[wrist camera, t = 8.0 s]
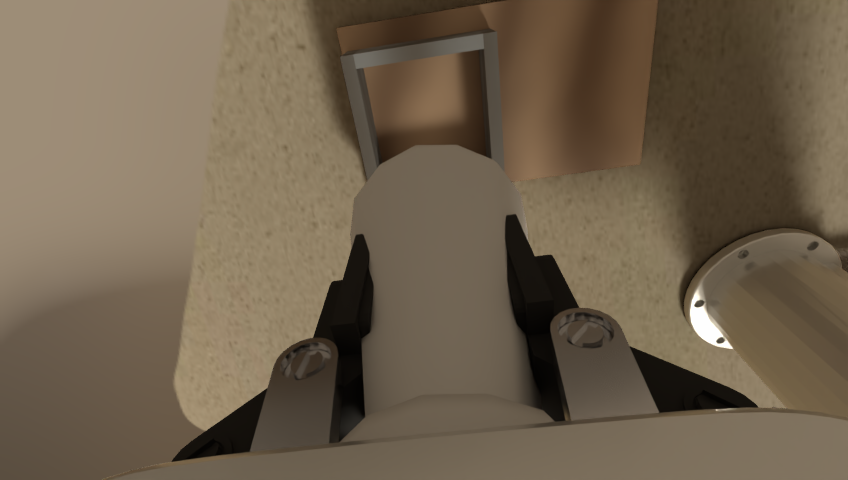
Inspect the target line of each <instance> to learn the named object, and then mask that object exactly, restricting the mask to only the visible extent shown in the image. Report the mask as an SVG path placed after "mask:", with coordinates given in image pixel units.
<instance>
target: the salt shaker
mask: <svg viewBox="0 0 848 480" xmlns="http://www.w3.org/2000/svg"><path fill="white" fill-rule="evenodd" d="M512 214H516V215H517V217H518V220H519V222H520V224H521V226H522V229H523V231H524V233H525V236H526V238H527V240H528V231H527V224H526V219H525V214H524V208H523V203H522V197H521V193H520V192H519V191H518V189H517V188H516V187H515V185H514V184H513V183H512V182H511V180H510V179H509V178H508V176H507V175H506V174H505V172H504V171H503V170H502V169H501V167H500V166H499V165H498V163H497V162H495V161H494V160H493V159H490V158H488V157H485V156H483V155H480V154H478V153H476V152H473V151H471V150H468V149H466V148H463V147H461V146H458V145H415V146H413V147H411V148H409V149H408V150H406V151H404V152H402V153H400V154H398V155H397V156H395V157H393V158H391V159H389V160H387V161H386V162H384V163H382V164H380V165H379V167H378V168H377V169H376V170H375V172H374V173H373V174H372V176H371V177H370V178H369V180H368V181H367V182H366V184H365V185H364V186H363V188H362V189H361V190H360V192H359V193H358V194H357V196H356V197H355V198H354V205H353V215H352V224H351V233H350V236H351V248H352V246H353V242H354V239H355V236H356V235H358V234H363V235H364V237H365V240H366V243H367V246H368V249H369V252H370V254H369V266H368V267H369V271H370V274H371V277H372V281H373V284H374V288H373V303H372V315H371V327H370V333H369V334H367V335H366V336H365V337H363V338H362V339H361V344H362V364H363V384H364V404H365V418H364V419H363V420H362V421H361V422H360V423H359V424H358V425H357V426H356V427H355V428H354V429H353V430H351V431H350V432H349V433H348V434H347V435H346V436H345V437H344V438H343V439H342V440H341V441H340V442H350V441H359V440H369V439H379V438H389V437H400V436H410V435H420V434H430V433H441V432H451V431H462V430H472V429H483V428H493V427H503V426H514V425H525V424H536V423H547V422H555V421H554V420H553V419H552V418H551V417H550V416H549V415H548V414H546V413H545V412H544V411H543V410H542V403H541V393H540V391H539V388H538V386H537V384H536V381H535V378H534V374H533V369H532V364H531V360H530V353H529V346H528V339H527V335H526V334H525V333H524V332H523V331H522V330H521V329H520V328H519V326H518V325H517V323H516V320H515V315H514V310H513V305H512V300H511V295H510V291H509V286H508V281H507V247H506V242H505V220H506V215H512ZM340 442H339V443H340Z"/></svg>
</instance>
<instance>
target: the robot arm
mask: <svg viewBox="0 0 848 480" xmlns="http://www.w3.org/2000/svg"><path fill="white" fill-rule="evenodd" d="M505 242H506V247H507V281H508V286H509V291H510V295H511V300H512V305H513V310H514V315H515V320H516V323H517V325H518V326H519V328H520V329H521V330H522V331H523V332H524V333H525V334H526V335H527V339H528V346H529V353H530V360H531V364H532V369H533V374H534V378H535V381H536V384H537V386H538V388H539V391H540V393H541V403H542V410H543V411H544V412H545V413H546V414H548V415H549V416H550V417H551V418H552V419H553V420H554V421H555V422H547V423H536V424H525V425H514V426H503V427H493V428H483V429H472V430H462V431H451V432H441V433H430V434H420V435H410V436H400V437H389V438H379V439H369V440H359V441H350V442H340V441H341V440H342V439H343V438H344V437H345V436H346V435H347V434H348V433H349V432H350V431H351V430H353V429H354V428H355V427H356V426H357V425H358V424H359V423H360V422H361V421H362V420H363V419H364V418H365V404H364V384H363V364H362V344H361V339H362V338H363V337H365V336H366V335H367V334H369V333H370V327H371V315H372V303H373V288H374V284H373V281H372V277H371V274H370V271H369V267H368V266H369V254H370V252H369V249H368V246H367V243H366V240H365V237H364V235H363V234H358V235H356V236H355V239H354V242H353V246H352V249H351V253H350V256H349V260H348V263H347V267H346V270H345V274H344V277H343V280H339V281H333V282H332V283H331V285H330V287H329V290H328V293H327V297H326V300H325V303H324V306H323V309H322V312H321V315H320V318H319V321H318V324H317V327H316V331H315V334H314V337H313V338H309V339H306V340H302V341H300V342H297V343H295V344H293V345H291V346H290V347H289V348H287V349H286V350H285V351H283V353H282V354H281V355H280V356H279V357H278V358H277V360H276V362H275V364H274V367H273V371H272V374H271V378H270V381H269V385H268V388H267V389H265V390H264V391H263V392H261V393H260V394H258V395H257V396H255V397H254V398H253V399H251V400H250V401H248V402H247V403H245V404H244V405H243V406H241V407H240V408H238V409H237V410H235V411H234V412H233V413H231V414H230V415H228V416H227V417H225V418H224V419H223V420H221V421H220V422H218V423H217V424H215V425H214V426H213V427H211V428H210V429H208V430H207V431H205V432H204V433H202V434H201V435H200V436H198V437H197V438H195V439H194V440H193V441H191V442H190V443H189V444H188V445H186V446H185V447H184V448H183V449H181V451H180V452H179V453H178V454H177V455H176V456H175V458H174V459H173V460H172V462H168V463H162V464H157V465H153V466H149V467H144V468H139V469H135V470H130V471H127V472H124V473H121V474H117V475H114V476H111V477H108V478H105V479H102V480H848V272H846V271H845V270H843V269H842V263H841V260H840V257H839V254H838V252H837V251H836V250H835V249H834V247H833V246H832V245H831V244H829V243H828V242H826V241H825V240H823V239H822V238H820V237H819V236H817V235H815V234H813V233H811V232H808V231H804V230H800V229H790V228H780V229H772V230H766V231H762V232H758V233H755V234H751V235H749V236H746V237H744V238H742V239H739V240H737V241H735V242H733V243H732V244H730V245H728V246H727V247H725V248H723V249H722V250H720V251H719V252H718V253H716V254H715V255H714V256H713V257H711V258H710V259H709V260H708V261H707V262H706V263H705V264H704V265H703V266H702V267H701V268H700V269H699V271H698V272H697V274H696V275H695V276H694V278H693V279H692V281H691V283H690V285H689V287H688V289H687V292H686V295H685V299H684V313H685V317H686V320H687V322H688V323H689V325H690V327H691V328H692V329H693V330H694V331H695V333H696V334H697V335H698V336H699V337H700V338H701V339H703V340H704V341H706V342H707V343H710V344H712V345H714V346H718V347H723V348H728V349H734V350H735V351H736V352H737V353H738V354H739V356H740V357H741V358H742V359H743V360H744V361H745V362H746V363H747V365H748V366H749V367H750V368H751V369H752V370H753V371H754V372H755V373H756V375H757V376H758V377H759V378H760V379H761V380H762V381H763V382H764V383H765V385H766V386H767V387H768V388H769V389H770V390H771V391H772V392H773V394H774V395H775V396H776V397H777V398H778V399H779V400H780V401H781V402H782V404H783V405H784V406H785V407H786V408H787V409H783V408H776V407H772V408H758V406H757V405H756V404H755V403H754V402H752V401H751V400H750V399H748V398H747V397H746V396H745V395H743V394H741V393H739V392H737V391H735V390H733V389H731V388H729V387H727V386H724V385H722V384H720V383H717V382H715V381H712V380H710V379H708V378H705V377H703V376H700V375H698V374H695V373H693V372H691V371H688V370H686V369H683V368H681V367H679V366H676V365H674V364H671V363H669V362H666V361H664V360H662V359H659V358H657V357H654V356H652V355H650V354H647V353H645V352H642V351H640V350H637V349H635V348H633V347H630V346H629V344H628V342H627V340H626V338H625V335H624V333H623V331H622V329H621V327H620V326H619V324H618V323H617V321H616V320H614V319H613V318H612V317H611V316H609V315H608V314H605V313H603V312H601V311H598V310H594V309H590V308H579V306H578V304H577V302H576V300H575V298H574V297H573V295H572V293H571V291H570V289H569V287H568V285H567V283H566V281H565V279H564V277H563V275H562V273H561V271H560V269H559V267H558V265H557V263H556V261H555V259H554V258H553V256H552V255H543V256H534V254H533V252H532V249H531V247H530V245H529V242H528V240H527V238H526V236H525V233H524V231H523V229H522V226H521V224H520V222H519V220H518V217H517V215H516V214H512V215H506V220H505ZM339 442H340V443H339Z"/></svg>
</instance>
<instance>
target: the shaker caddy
mask: <svg viewBox="0 0 848 480" xmlns="http://www.w3.org/2000/svg"><path fill="white" fill-rule="evenodd" d="M657 8H658V0H503V1H496V2H490V3H484V4H478V5H472V6H466V7H460V8H454V9H448V10H442V11H436V12H430V13H424V14H418V15H412V16H405V17H399V18H393V19H387V20H381V21H375V22H369V23H363V24H357V25H351V26H345V27H339V28H336V30H337V34H338V39H339V43H340V48H341V52H342V55H341V56H340V60H341V64H342V69H343V73H344V78H345V82H346V87H347V91H348V96H349V100H350V104H351V109H352V113H353V118H354V122H355V127H356V131H357V136H358V140H359V145H360V149H361V154H362V158H363V162H364V167H365V171H366V176H367V180H369V178H370V177H371V176H372V174H373V173H374V172H375V170H376V169H377V168H378V167H379V165H380V164H382V163H384V162H386V161H387V160H389V159H391V158H393V157H395V156H397V155H398V154H400V153H402V152H404V151H406V150H408V149H409V148H411V147H413V146H415V145H458V146H461V147H463V148H466V149H468V150H471V151H473V152H476V153H478V154H480V155H483V156H485V157H488V158H490V159H493V160H494V161H495V162H497V163H498V165H499V166H500V167H501V169H502V170H503V171H504V172H505V174H506V175H507V176H508V178H509V179H510V180H511V182H515V181H522V180H530V179H537V178H544V177H551V176H559V175H566V174H573V173H581V172H588V171H595V170H603V169H610V168H617V167H625V166H632V165H639V164H641V155H642V146H643V137H644V128H645V119H646V109H647V100H648V91H649V82H650V72H651V63H652V54H653V45H654V36H655V26H656V17H657Z"/></svg>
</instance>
